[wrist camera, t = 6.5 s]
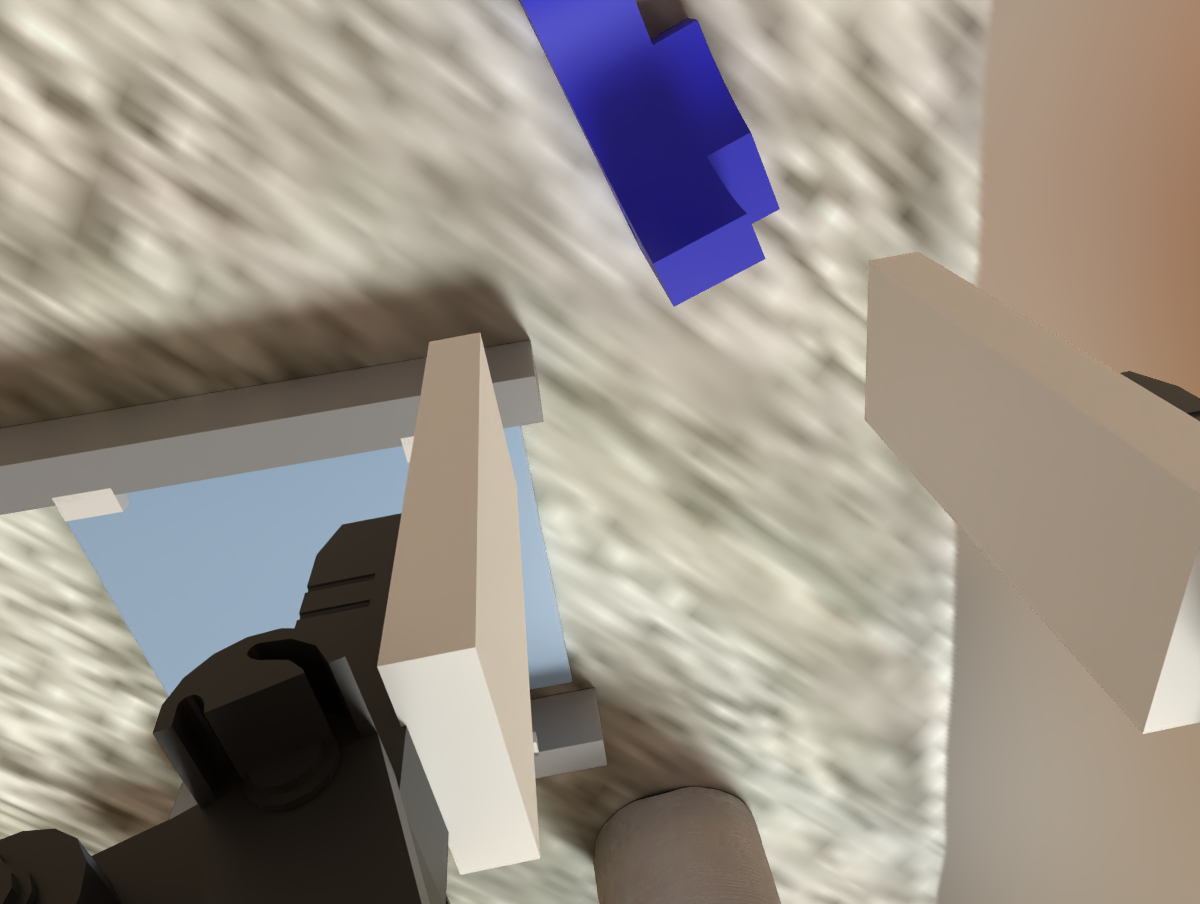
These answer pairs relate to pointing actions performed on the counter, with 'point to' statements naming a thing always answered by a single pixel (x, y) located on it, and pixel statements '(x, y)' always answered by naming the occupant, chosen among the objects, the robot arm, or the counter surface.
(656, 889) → the pillar candle
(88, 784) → the counter surface
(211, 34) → the counter surface
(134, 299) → the counter surface
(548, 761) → the blue panel with rails
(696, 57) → the cable clip
